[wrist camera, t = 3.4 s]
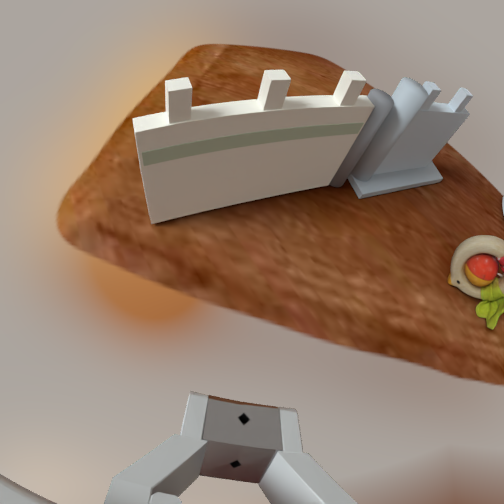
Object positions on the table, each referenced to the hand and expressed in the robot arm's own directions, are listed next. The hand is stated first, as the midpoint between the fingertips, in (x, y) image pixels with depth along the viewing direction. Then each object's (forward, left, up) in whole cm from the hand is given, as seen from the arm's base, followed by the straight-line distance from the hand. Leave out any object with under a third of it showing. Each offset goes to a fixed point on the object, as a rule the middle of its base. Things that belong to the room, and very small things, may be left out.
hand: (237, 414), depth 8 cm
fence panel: (-4, -16, -13) cm, 21 cm away
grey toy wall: (-20, -20, -13) cm, 31 cm away
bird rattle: (-25, -6, -13) cm, 29 cm away
